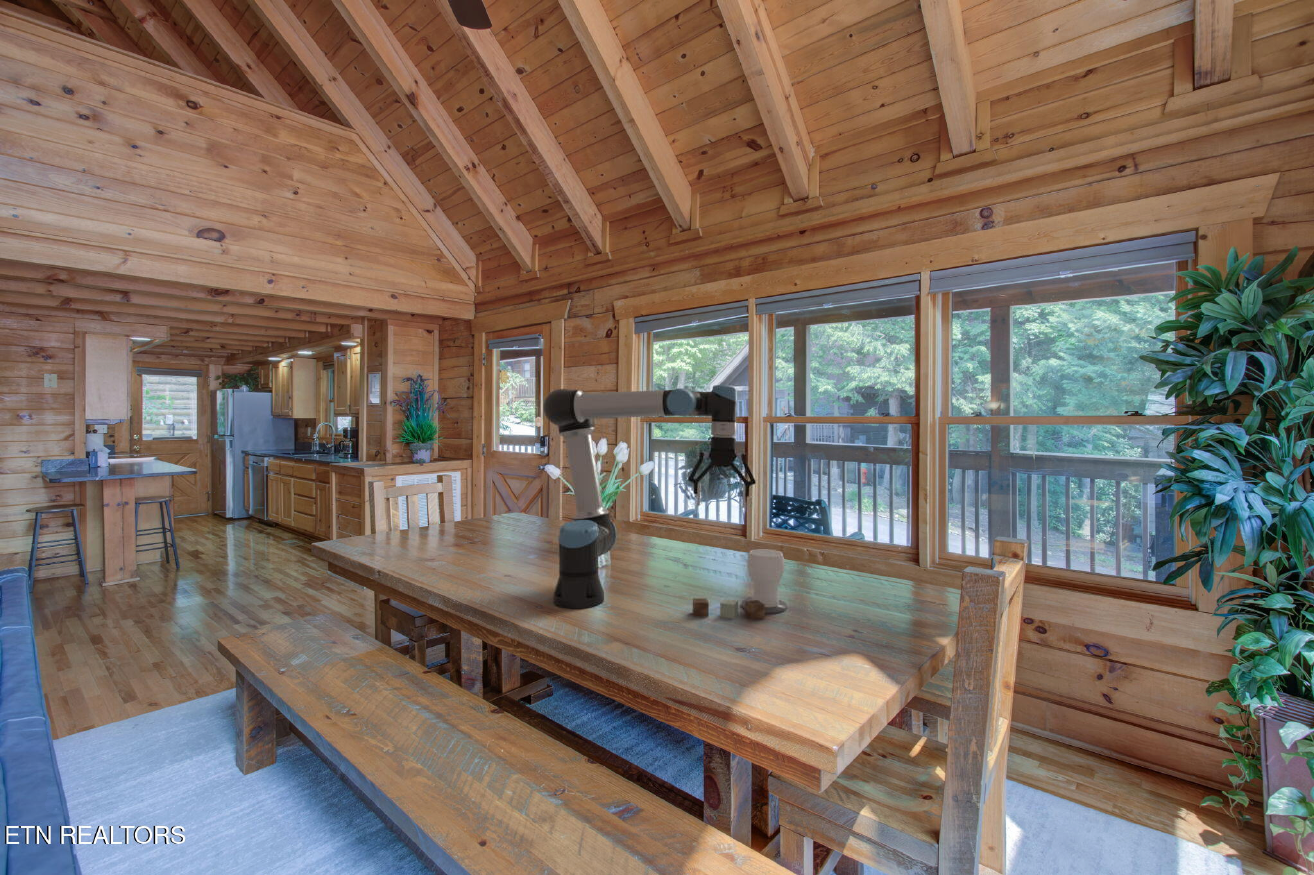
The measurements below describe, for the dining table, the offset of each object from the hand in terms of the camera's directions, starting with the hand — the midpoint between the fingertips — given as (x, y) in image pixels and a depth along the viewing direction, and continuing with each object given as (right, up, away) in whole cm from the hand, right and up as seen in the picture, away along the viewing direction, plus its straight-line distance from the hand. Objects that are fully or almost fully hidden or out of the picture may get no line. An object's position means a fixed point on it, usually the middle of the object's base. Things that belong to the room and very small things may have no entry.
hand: (720, 506), depth 178 cm
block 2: (+1, -29, -15) cm, 32 cm away
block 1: (-7, -29, -14) cm, 33 cm away
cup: (+12, -28, -7) cm, 31 cm away
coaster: (+12, -29, -7) cm, 32 cm away
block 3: (+8, -29, -16) cm, 34 cm away
